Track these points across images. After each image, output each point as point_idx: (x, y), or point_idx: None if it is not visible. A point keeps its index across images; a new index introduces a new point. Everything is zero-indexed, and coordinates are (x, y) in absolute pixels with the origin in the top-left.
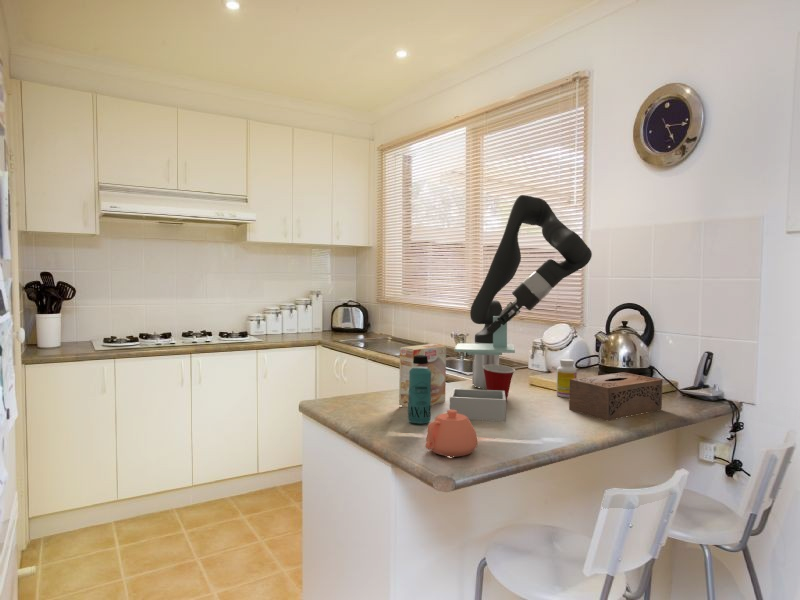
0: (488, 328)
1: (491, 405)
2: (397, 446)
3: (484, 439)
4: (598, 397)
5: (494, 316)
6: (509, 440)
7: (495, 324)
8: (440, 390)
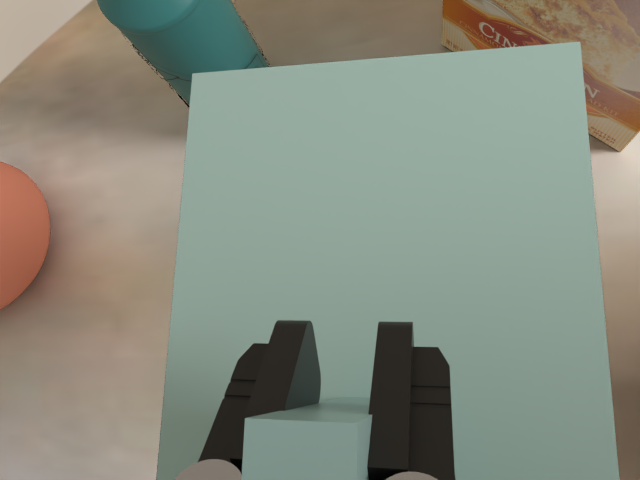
0: (275, 337)
1: None
2: (39, 89)
3: (116, 344)
4: None
5: (285, 450)
6: (112, 435)
7: (213, 445)
8: (606, 101)
